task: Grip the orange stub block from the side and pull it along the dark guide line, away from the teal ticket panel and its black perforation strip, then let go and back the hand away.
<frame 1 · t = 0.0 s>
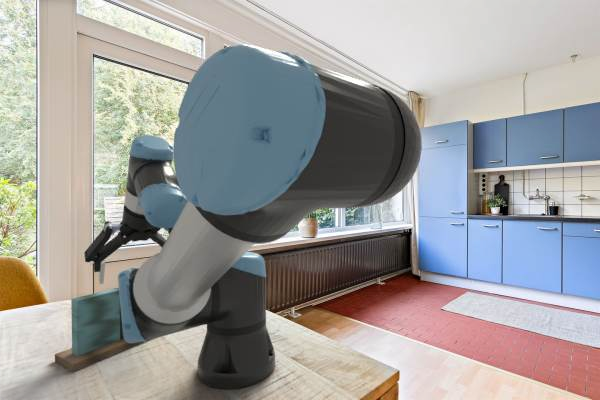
hand: (133, 274, 76), 15 cm above the table, tool tilted 35°, fingers open, 13 cm apart
stub: (133, 308, 74), point 7 cm above the table, slide at 0.0 cm
ticket stand: (119, 344, 72), on the table
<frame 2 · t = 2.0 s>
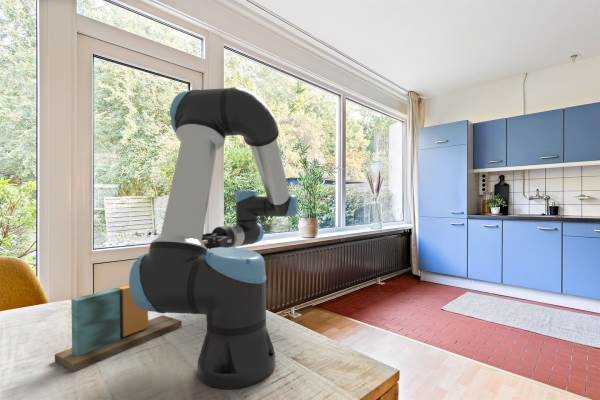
hand: (170, 246, 83), 21 cm above the table, tool horizontal, fingers open, 13 cm apart
nothing on the table moved.
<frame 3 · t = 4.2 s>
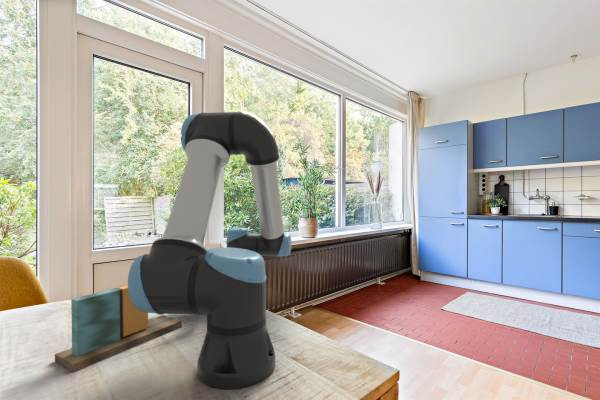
hand: (154, 298, 80), 8 cm above the table, tool horizontal, fingers open, 13 cm apart
nothing on the table moved.
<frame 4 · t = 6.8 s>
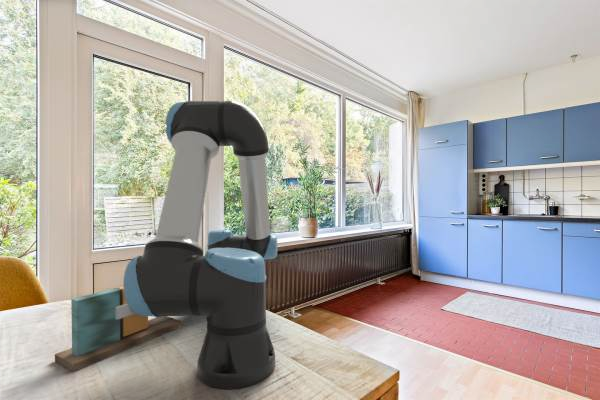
hand: (112, 311, 70), 8 cm above the table, tool horizontal, fingers closed on ticket stand, 3 cm apart
nothing on the table moved.
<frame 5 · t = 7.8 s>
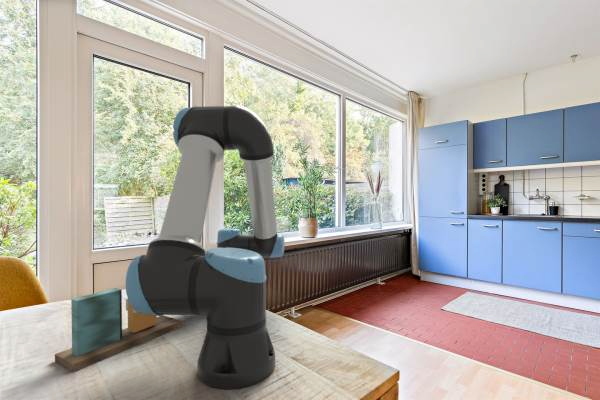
hand: (130, 305, 74), 8 cm above the table, tool horizontal, fingers closed on stub, 2 cm apart
stub: (142, 305, 76), point 7 cm above the table, slide at 2.3 cm, touching gripper
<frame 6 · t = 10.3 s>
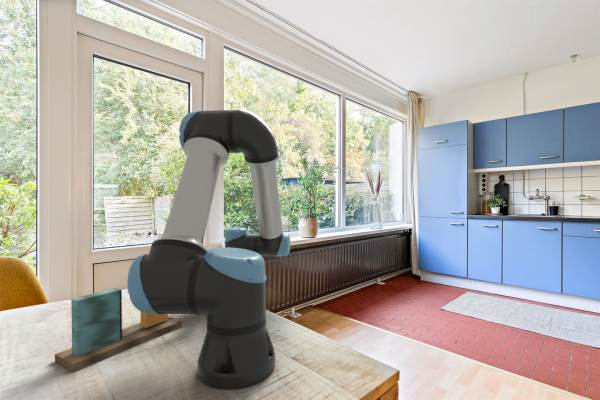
hand: (151, 300, 79), 8 cm above the table, tool horizontal, fingers open, 13 cm apart
stub: (154, 301, 79), point 7 cm above the table, slide at 5.5 cm
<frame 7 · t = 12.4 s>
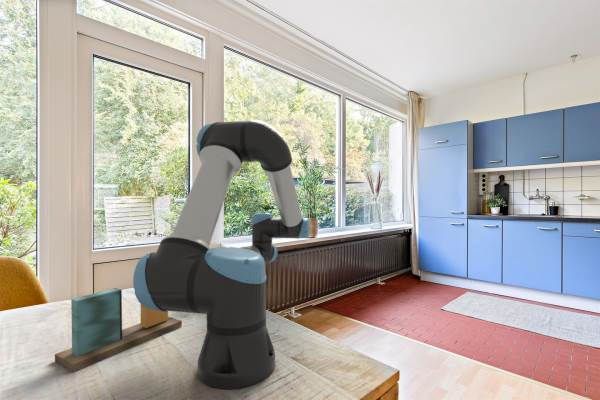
hand: (196, 268, 91), 13 cm above the table, tool horizontal, fingers open, 13 cm apart
nothing on the table moved.
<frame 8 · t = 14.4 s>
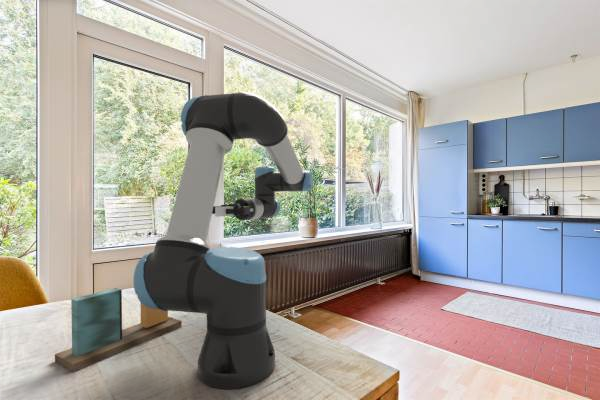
hand: (199, 211, 91), 30 cm above the table, tool horizontal, fingers open, 13 cm apart
nothing on the table moved.
at the end: stub slide at 5.5 cm; the gripper is holding nothing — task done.
